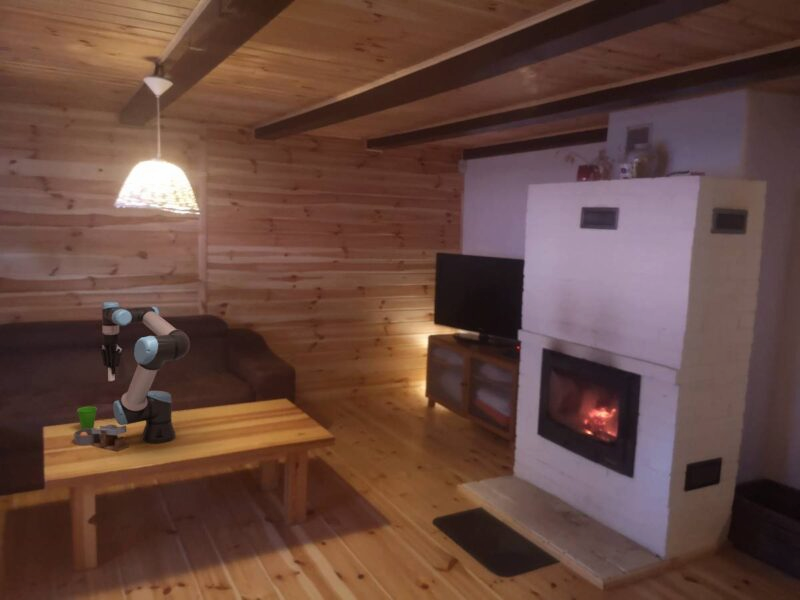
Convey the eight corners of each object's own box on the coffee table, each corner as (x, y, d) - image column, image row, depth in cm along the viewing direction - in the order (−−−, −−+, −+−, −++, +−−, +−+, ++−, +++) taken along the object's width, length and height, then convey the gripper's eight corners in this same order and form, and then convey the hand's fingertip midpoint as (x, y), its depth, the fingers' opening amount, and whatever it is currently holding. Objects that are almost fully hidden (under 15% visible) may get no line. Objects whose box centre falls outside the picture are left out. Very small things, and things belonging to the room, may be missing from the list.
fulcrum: (130, 446, 297) (130, 428, 296) (115, 452, 288) (115, 434, 287) (104, 440, 302) (104, 423, 301) (89, 446, 294) (89, 428, 293)
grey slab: (136, 428, 300) (136, 422, 300) (117, 435, 289) (117, 429, 289) (110, 426, 306) (110, 420, 306) (91, 433, 295) (90, 427, 295)
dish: (106, 439, 304) (106, 430, 303) (86, 446, 293) (86, 437, 293) (88, 435, 308) (88, 426, 307) (69, 442, 297) (68, 433, 297)
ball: (90, 437, 302) (88, 430, 302) (83, 439, 299) (82, 432, 299) (84, 438, 304) (83, 431, 304) (78, 440, 300) (77, 433, 300)
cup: (89, 434, 310) (89, 412, 309) (73, 432, 312) (72, 410, 310) (101, 428, 319) (101, 407, 317) (85, 426, 321) (85, 405, 319)
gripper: (127, 333, 310) (127, 380, 312) (107, 330, 314) (107, 377, 317) (115, 335, 303) (115, 383, 306) (94, 333, 307) (95, 380, 310)
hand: (111, 380), depth 311 cm, fingers closed
